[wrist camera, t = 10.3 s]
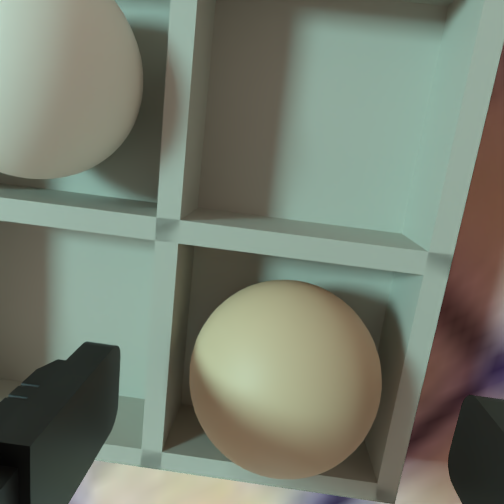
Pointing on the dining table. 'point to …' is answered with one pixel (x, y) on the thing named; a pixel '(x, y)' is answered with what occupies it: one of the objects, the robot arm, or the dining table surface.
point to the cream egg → (65, 85)
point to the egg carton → (259, 207)
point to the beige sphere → (285, 379)
